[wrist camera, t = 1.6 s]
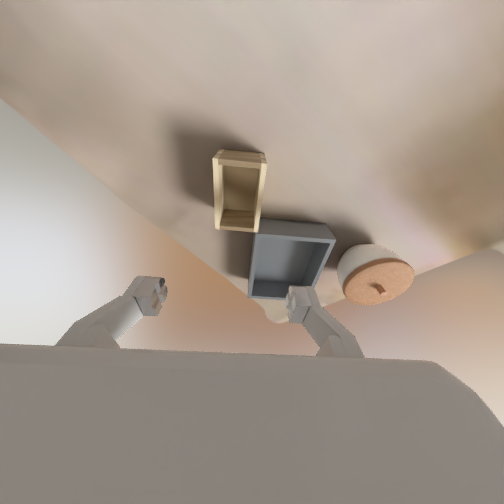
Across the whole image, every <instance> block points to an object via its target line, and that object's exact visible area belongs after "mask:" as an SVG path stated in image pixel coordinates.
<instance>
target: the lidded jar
mask: <svg viewBox="0 0 504 504" xmlns="http://www.w3.org/2000/svg"><path fill="white" fill-rule="evenodd" d="M337 275H338V279H339V283H340V285H341V287H342V289H343V293H344V295H345V297H346V298H347V299H348V300H349V301H351V302H353V303H355V304H360V305H373V304H378V303H382V302H385V301H388V300H390V299H392V298H395V297H397V296H398V295H400V294H401V293H403V292H404V291H405V290H406V289H407V288H408V287H409V286H410V285H411V283H412V281H413V279H414V270H413V269H412V267H411V266H410V265H409V264H407V263H406V262H405V261H403V260H402V259H401V258H400V257H399V256H398V255H397V254H395V253H394V252H393V251H391V250H389V249H387V248H385V247H382V246H379V245H374V244H360V245H356V246H353V247H351V248H349V249H348V250H347V251H345V253H344V254H343V255H342V257H341V259H340V261H339V263H338V267H337Z"/></svg>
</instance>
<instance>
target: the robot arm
mask: <svg viewBox="0 0 504 504" xmlns="http://www.w3.org/2000/svg"><path fill="white" fill-rule="evenodd" d="M164 283H165V280H164V278H161V277H149V276H137V277H136V278H135V279H134V280H133V282H132V283H131V285H130V286H129V287H128V289H127V290H126V292H125V293H124V295H123V296H119V297H118V298H116V299H114V300H112V301H111V302H109V303H107V304H106V305H104V306H102V307H100V308H99V309H97V310H95V311H93V312H92V313H90V314H88V315H87V316H85V317H83V318H82V319H80V320H78V321H76V322H75V323H74V324H73V325H72V326H71V327H70V328H69V330H68V331H67V332H66V333H65V334H64V335H63V337H62V338H61V339H60V340H59V341H58V342H57V344H56V345H55V346H45V345H19V344H0V504H504V427H503V425H502V424H501V423H500V421H499V420H498V419H497V418H496V416H495V415H494V414H493V412H492V411H491V410H490V408H489V407H488V406H487V405H486V403H485V402H484V401H483V400H482V399H481V398H480V397H479V396H478V394H477V393H476V392H474V391H473V390H472V389H471V388H470V387H468V386H467V385H466V384H465V383H463V382H462V381H461V380H459V379H458V378H457V377H455V376H454V375H452V374H451V373H450V372H448V371H447V370H446V369H444V368H443V367H441V366H440V365H438V364H437V363H434V362H432V361H425V360H400V359H375V358H364V355H363V353H362V351H361V349H360V347H359V345H358V342H357V340H356V338H355V336H354V335H353V334H352V333H351V332H350V331H349V330H348V329H346V328H345V327H344V326H343V325H342V324H341V323H340V322H339V321H338V320H337V319H336V318H334V317H333V316H332V315H331V314H330V313H329V312H328V311H327V310H326V309H325V308H324V307H321V305H320V303H319V300H318V297H317V294H316V292H315V289H314V287H313V286H295V285H290V286H289V293H287V296H286V307H287V308H288V309H289V311H288V318H289V322H290V323H301V324H302V325H303V326H304V327H305V329H306V330H307V331H308V333H309V334H310V335H311V336H312V338H313V339H314V340H315V342H316V343H317V344H318V346H319V347H320V350H319V351H318V353H317V354H316V356H298V355H273V354H247V353H223V352H197V351H170V350H146V349H144V350H143V349H121V348H120V346H119V345H118V344H117V343H116V340H117V339H118V338H119V337H120V336H121V335H123V334H124V333H125V332H126V331H127V330H128V329H129V328H131V326H133V325H134V324H135V323H136V322H138V321H139V320H140V319H141V318H142V317H143V316H158V314H159V312H160V310H161V308H162V306H161V303H162V302H164V301H165V299H166V296H167V287H166V286H165V285H164Z"/></svg>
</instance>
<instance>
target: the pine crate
mask: <svg viewBox="0 0 504 504" xmlns="http://www.w3.org/2000/svg"><path fill="white" fill-rule="evenodd" d="M212 159H213V184H214V209H215V229H220V230H232V231H245V232H257V233H258V228H259V220H260V213H261V205H262V198H263V190H264V183H265V175H266V168H267V162H266V158H265V154H264V153H255V152H245V151H236V150H226V149H220V150H219V151H218V152H217V153H216V155H215V156H214V157H213V158H212Z"/></svg>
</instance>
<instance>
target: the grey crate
mask: <svg viewBox="0 0 504 504" xmlns="http://www.w3.org/2000/svg"><path fill="white" fill-rule="evenodd" d="M335 242H336V238H335V237H334V235H333V234H332V232H331V231H330V229H329V228H328V226H327V224H324V223H312V222H301V221H289V220H277V219H265V218H260V220H259V228H258V233H257V232H254V234H253V243H252V251H251V260H250V269H249V277H248V298H259V299H276V300H286V296H287V293H289V286H290V285H295V286H313V287H315V285H316V283H317V281H318V279H319V276H320V274H321V272H322V270H323V268H324V266H325V264H326V261H327V259H328V257H329V255H330V253H331V251H332V249H333V246H334V244H335Z"/></svg>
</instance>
